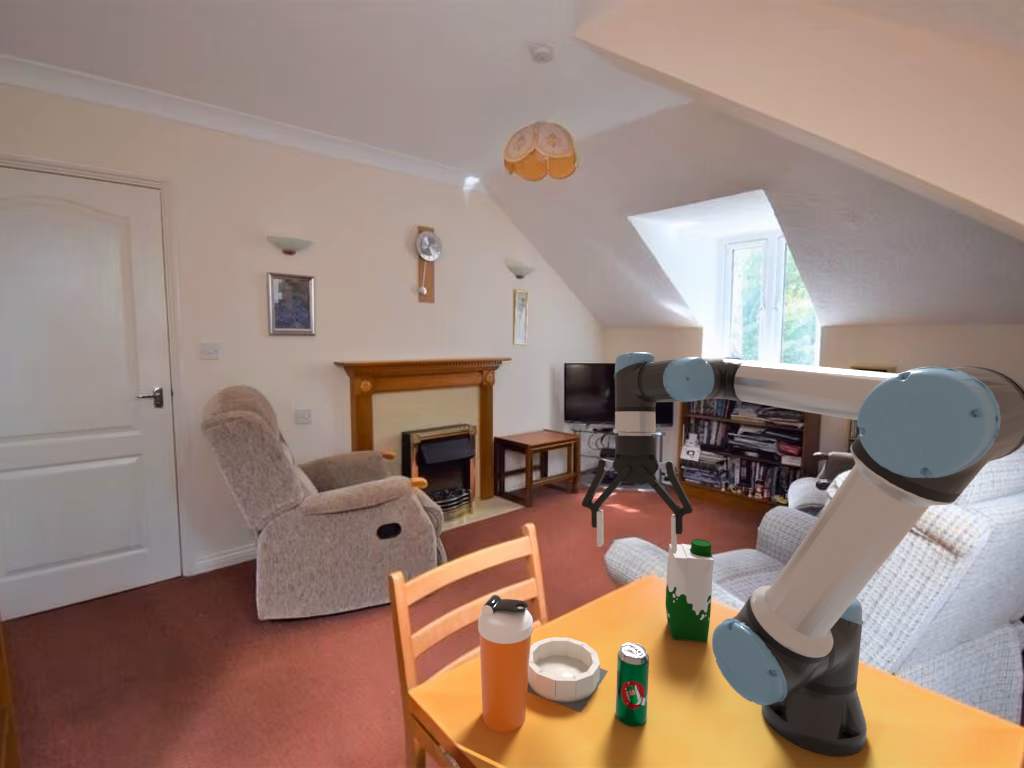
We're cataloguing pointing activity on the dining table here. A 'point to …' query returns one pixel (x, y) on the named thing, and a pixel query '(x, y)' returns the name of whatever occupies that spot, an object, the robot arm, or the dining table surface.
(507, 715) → the shaker bottle
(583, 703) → the mat
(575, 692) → the bowl
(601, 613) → the dining table surface
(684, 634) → the milk carton
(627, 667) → the soda can
